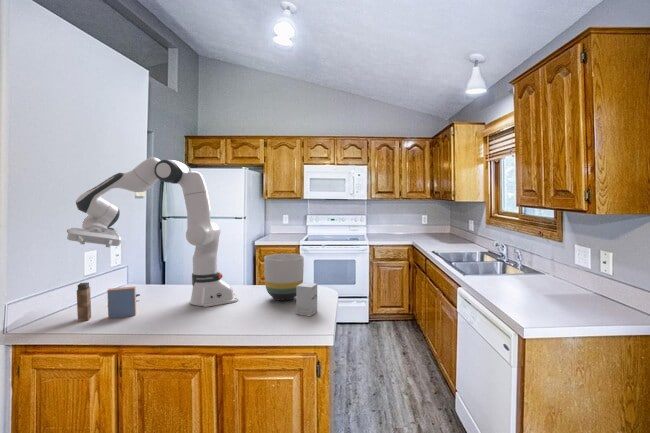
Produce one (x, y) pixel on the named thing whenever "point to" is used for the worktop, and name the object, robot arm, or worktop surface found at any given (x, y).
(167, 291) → the worktop surface
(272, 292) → the planter
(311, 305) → the supplement box
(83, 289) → the brown pepper mill
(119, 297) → the tile
